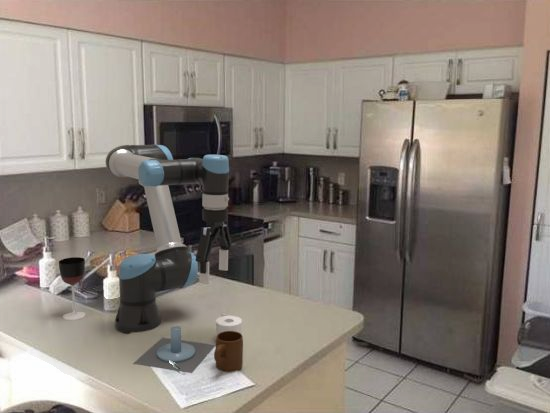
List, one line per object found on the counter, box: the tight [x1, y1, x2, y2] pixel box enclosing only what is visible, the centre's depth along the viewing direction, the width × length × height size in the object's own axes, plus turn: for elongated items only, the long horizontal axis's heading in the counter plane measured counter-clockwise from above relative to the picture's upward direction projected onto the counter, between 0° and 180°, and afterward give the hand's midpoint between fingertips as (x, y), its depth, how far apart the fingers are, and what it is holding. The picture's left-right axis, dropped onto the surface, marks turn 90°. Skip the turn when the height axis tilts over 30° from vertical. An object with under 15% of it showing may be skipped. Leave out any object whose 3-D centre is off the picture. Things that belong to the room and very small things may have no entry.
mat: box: [132, 337, 216, 374], centre depth 148 cm, size 18×18×1 cm
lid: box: [157, 325, 195, 363], centre depth 147 cm, size 11×11×8 cm
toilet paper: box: [215, 313, 243, 338], centre depth 159 cm, size 8×11×7 cm
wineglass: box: [58, 256, 87, 321], centre depth 174 cm, size 8×9×20 cm
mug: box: [213, 331, 244, 373], centre depth 139 cm, size 12×8×9 cm, turn 159°
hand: (214, 276), depth 151 cm, fingers open, 13 cm apart
